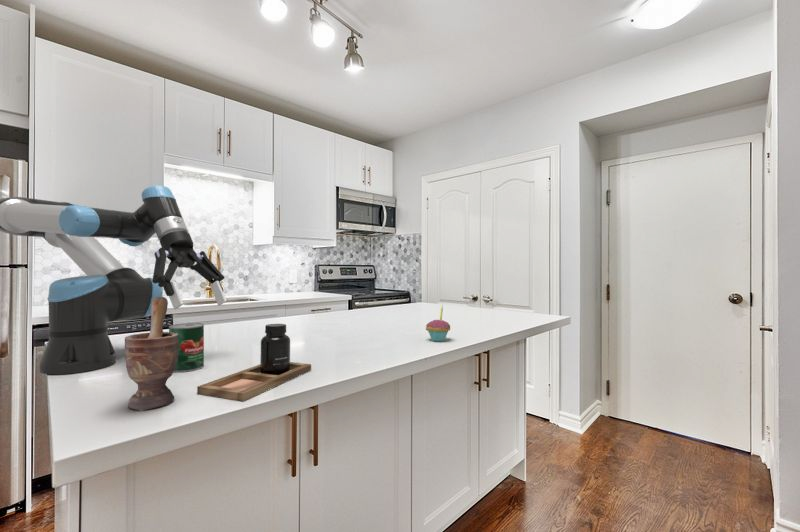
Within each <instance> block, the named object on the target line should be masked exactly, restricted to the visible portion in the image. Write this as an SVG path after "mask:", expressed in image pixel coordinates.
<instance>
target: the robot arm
mask: <svg viewBox="0 0 800 532" xmlns="http://www.w3.org/2000/svg"><path fill="white" fill-rule="evenodd" d="M141 198H142V199H141V200H142V202H143V204H142V205H140V206H139V207H138V208H137V209H136V210H135V211H134V212H128V211H123V210H121V211H120V210H113V209H105V208H98V207H90V206H85V205H84V206H83V205H80V204H79V205H78V204H77V203H76V204H75V203H71V202H66V201H52V200H45V199H38V198H29V197H23V196H7V197H3V198H0V232H2V233H5V234H8V235H13V236H20V237H21V236H22V237H35V238H36V237H37V238H43V239H44V240H45V241H46V242H47V243H48V244H49V245H51V246H52V247H55V248H57V249H58V248H60V249H61V250H62V251H63V252H64V253H65V254H66V255H67V256H68V258H70V260H71V261H72V262H74V264H75V265H76V266H78V268H79V269H81V271H82V272H83V273H84V274H85V275H81V276H72V277H66V278H60V279H57V280H54V281H52V282H51V283H50V285H49V289H48V296H47V301H48V342H47V344H46V347H45V348H44V349H45V350H44V351H43V354H42V356H41V359H40V360H39V361H40V362H39V373H41V374H44V375H67V374H68V375H69V374H76V373H77V374H78V373H83V372H84V373H85V372H91V371H94V370H99V369H103V368H106V367H109V366H112V365H114V364H116V362H117V354H116V350H115V348H114V346H113V344H112V342H111V339H110V337H109V334H108V332H109V331H108V324H109V323H110V322H117V321H127V320H132V319H133V320H134V319H142V318H145V317H151V305H152V301H153V299H154V298H156V297H164V296H163V290H164V293H165V295H166V296H167V297H169V299H170V302H171V305H172V307H173V309H174V310H177V309H179V308H181V306H183V305H185V304H184V301H183V299H182V298H183V297H182V296H181V294H180V291H179V289H178V286H177V283H176V280H172V279H173V277H174V276H175V275H174V274H175V273H176V271H177V269H178V268H181V269H182V268H187V269H190V270H192V271H195V272H197V274H199V275H200V276H201V277H202V278H204V279H205V280H206V281H208V283H210V285H209V288H210V289H211V292H212V294H213V297H214V300H215V302H216V303H217V306H222V305H223V304H225V303H226V302H227V298H226V296H225V294H224V289H223V286H222V283H221V282H222V281H223V280H224V279H225V276H224V275H223V274H222V272H221V271H220V270H219V269H218V268H217V267H216V266H215V264H214V263H213V262H212V261H211V260H210V258H209V257H208V256H207V253H206V252H205V251H204V250H201V251H200V252H196V251H195V250H194V241H193V239H192V236H191V234H190V232H189V229H188V227H187V225H186V222H185V220H184V218H183V216H182V212H181V211H180V208H179V205H178V203H177V199H176V198H175V196H174V194H173V192H172V190H171V189H170V188H169V187H168V186H164V185H161V184H155V185H151V186H150V185H149V186H148V187H146V188H144V189H143V190H142V192H141ZM155 234H156V236H157V239H158V241H159V243H160V246H161V247H160V248H158V250H156V251H155V252H154V257H155V262H154V263H155V264H154V269H153V275H152V277H143V276H141V275H140V273H138V271H136V270H135V269H134V268H132V267H125V266H124V265H123V264H121V263H120V262H119V260H118V259H117V258H116V257H115V256H114V255H112V254H111V252H110V251H108V250H107V249H106V248H105V246H103V245H102V244H101V243H100V242H99V240H97V238H105V239H108V238H109V239H118V240H119V241H120V242H121V243H123V244H125V245H128V246H129V247H138V246H141V245H143V244H145V242H147V241H149V240H150V239H151V238H152V237H153V236H154V235H155ZM167 259H168V260H169V261H170V262H169V264H168V266H167V269H166V263H167ZM165 269H166V271H165Z"/></svg>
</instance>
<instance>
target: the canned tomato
mask: <svg viewBox="0 0 800 532" xmlns="http://www.w3.org/2000/svg"><path fill="white" fill-rule="evenodd" d="M204 329H205V324H204V323H202V322H185V323H184V322H183V323H176V324H171V325H169V326H168V332H172V333H177V334H178V358H177V363H176V366H175V370H174V372H173V373H188V372H193V371H194V372H195V371H197V370H200V369H203V368H204V367H205V362H204V361H205V354H204V353H205V352H204V351H205V345H204V344H205V336H204V334H205V330H204Z"/></svg>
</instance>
